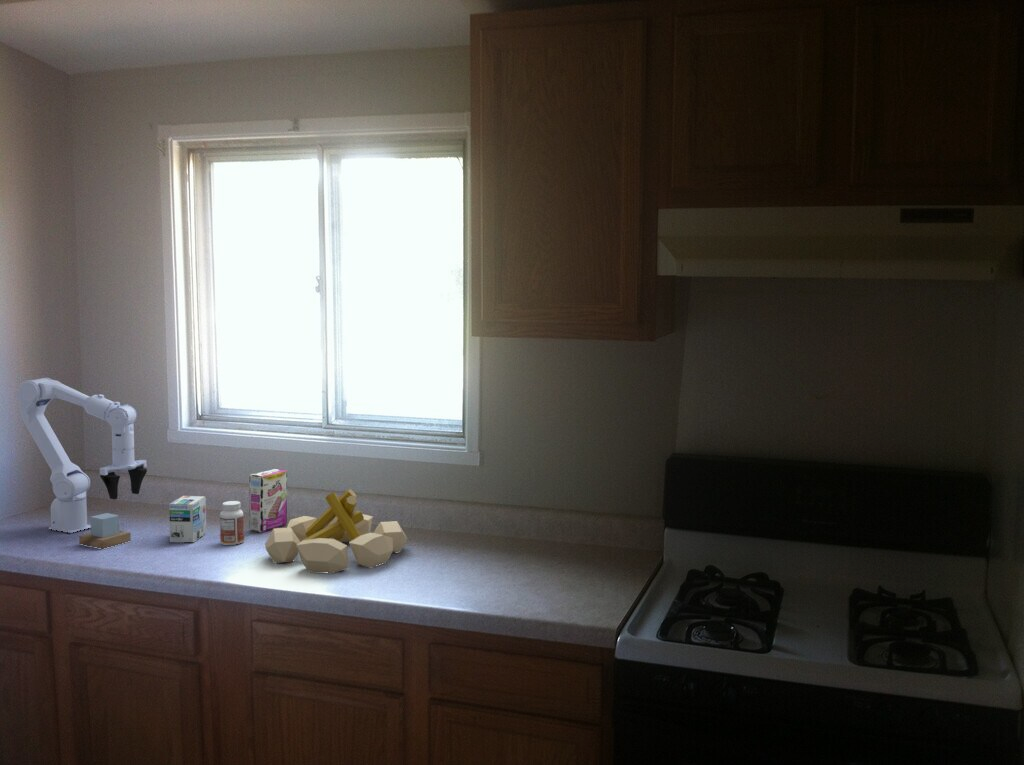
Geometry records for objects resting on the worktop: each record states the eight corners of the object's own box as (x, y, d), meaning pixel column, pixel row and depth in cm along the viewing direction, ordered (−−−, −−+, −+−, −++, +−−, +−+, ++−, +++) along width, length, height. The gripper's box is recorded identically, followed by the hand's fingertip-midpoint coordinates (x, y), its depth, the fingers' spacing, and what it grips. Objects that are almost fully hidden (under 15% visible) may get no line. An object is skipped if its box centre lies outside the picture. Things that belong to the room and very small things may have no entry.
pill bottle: (238, 538, 260) (237, 499, 259) (247, 543, 255) (247, 503, 254) (216, 542, 256) (216, 502, 255) (225, 547, 251) (225, 506, 250)
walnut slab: (79, 546, 251) (78, 535, 251) (107, 538, 259) (106, 528, 259) (103, 551, 247) (102, 540, 247) (130, 543, 255) (130, 532, 255)
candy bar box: (262, 533, 265) (261, 476, 264) (248, 531, 268) (248, 474, 266) (288, 524, 275) (287, 469, 274) (274, 522, 278) (274, 468, 276)
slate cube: (91, 535, 252) (90, 516, 251) (107, 531, 256) (106, 513, 256) (103, 537, 249) (102, 519, 249) (119, 533, 254) (118, 515, 253)
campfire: (430, 552, 250) (430, 489, 249) (339, 584, 222) (339, 513, 221) (334, 531, 270) (334, 473, 268) (240, 558, 242) (239, 493, 240)
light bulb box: (193, 543, 255) (192, 504, 253) (169, 543, 255) (168, 503, 254) (207, 533, 265) (206, 495, 264) (183, 532, 265) (182, 495, 264)
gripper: (112, 453, 256) (113, 502, 257) (153, 446, 269) (155, 492, 270) (93, 451, 259) (95, 499, 260) (136, 444, 272) (137, 490, 273)
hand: (124, 496), depth 266 cm, fingers open, 7 cm apart
